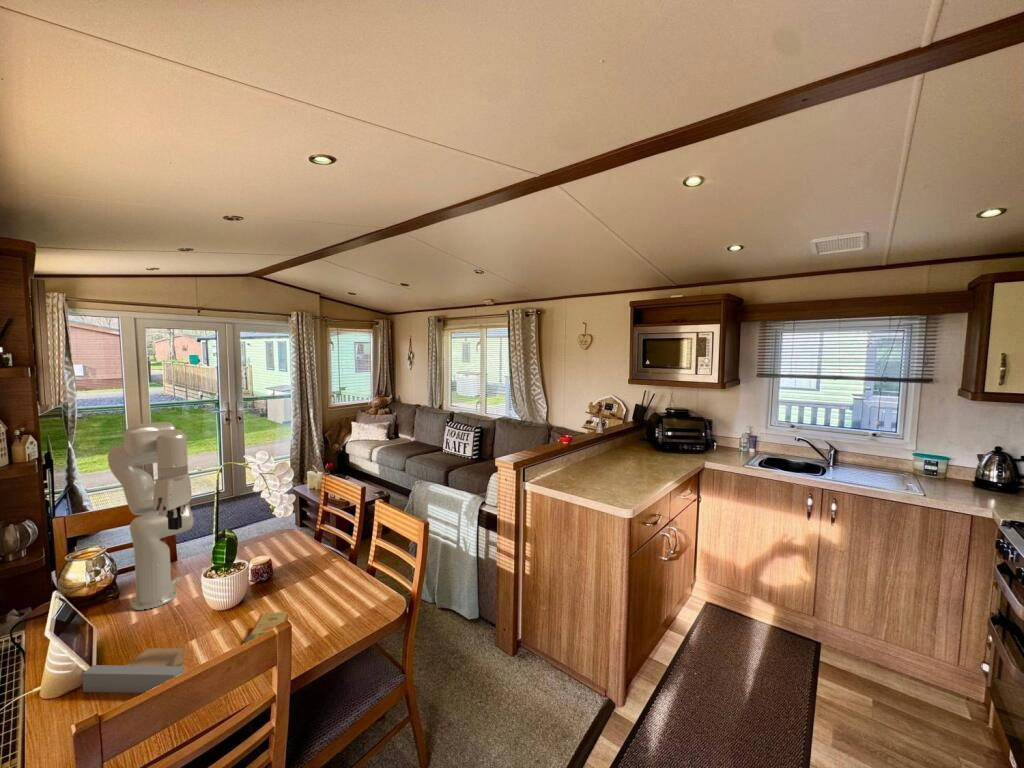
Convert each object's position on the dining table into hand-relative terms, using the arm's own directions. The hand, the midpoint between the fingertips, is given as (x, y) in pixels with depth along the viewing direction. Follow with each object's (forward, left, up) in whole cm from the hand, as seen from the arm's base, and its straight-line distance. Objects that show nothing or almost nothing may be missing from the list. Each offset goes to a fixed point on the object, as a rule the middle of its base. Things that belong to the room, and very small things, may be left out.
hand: (175, 528), depth 136 cm
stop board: (+26, +9, -32) cm, 42 cm away
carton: (+6, +32, -33) cm, 46 cm away
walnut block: (+20, +10, -32) cm, 40 cm away
